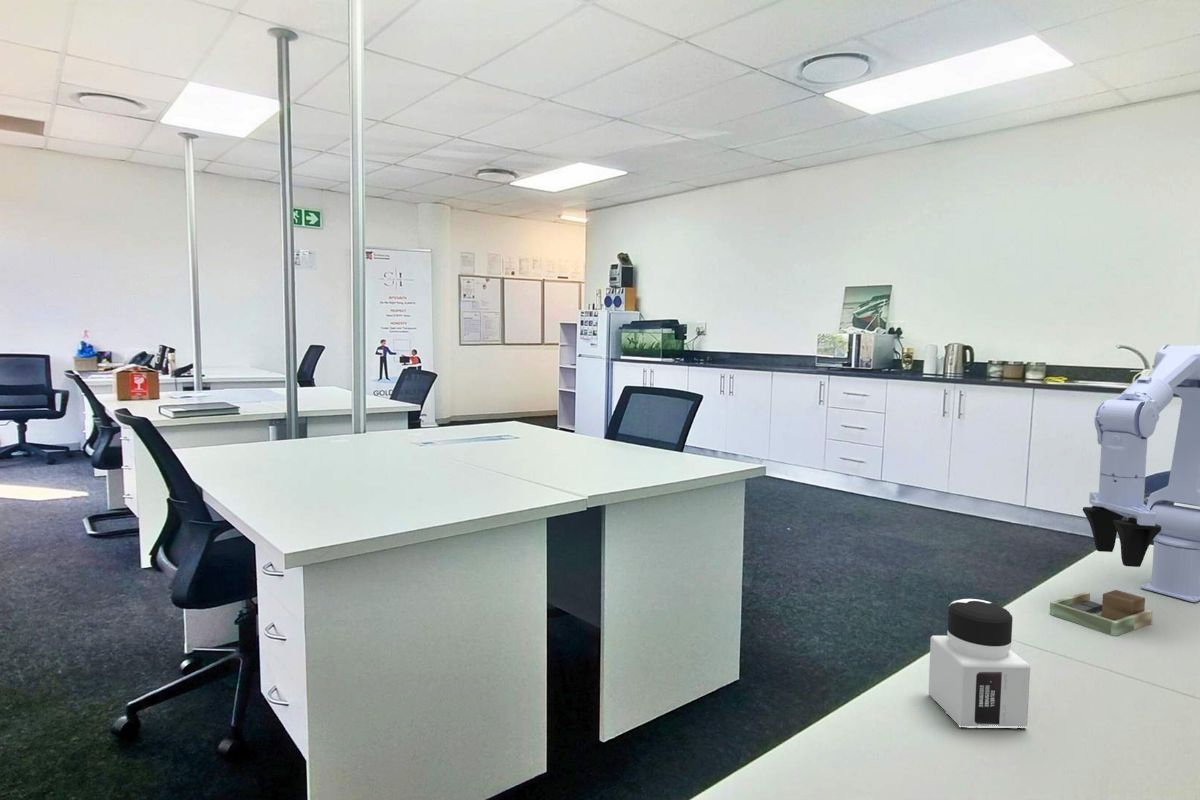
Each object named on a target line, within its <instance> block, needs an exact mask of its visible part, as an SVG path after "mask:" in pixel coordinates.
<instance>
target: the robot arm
mask: <svg viewBox="0 0 1200 800" xmlns="http://www.w3.org/2000/svg"><path fill="white" fill-rule="evenodd" d="M1153 367H1154V368H1153V370H1152V371H1151V373H1150V375H1147V376H1144V375H1142V376H1141V375H1140V376H1138V378H1136V379H1135V380H1134V381H1133V382H1132V383H1130V385H1129V386H1128V387H1127V388H1125V389H1124V391H1122V392H1121V394H1119V395H1118V396H1117V397H1116V398H1115V399H1113V398H1111V399H1110V398H1109V399H1107V400H1105V401H1103V402H1101V403H1099V404H1098V406H1097V409H1096V411H1095V415H1094V421H1093V422H1094V426H1095V429H1096V433H1097V434H1096V435H1097V436H1096V437H1097V439H1096V440H1097V445H1101V446H1100V463H1099V464H1100V465H1099V481H1098V492H1092V491H1090V492H1089V498H1088V499H1089V500H1088V501H1089V504H1090V505H1091V506H1083V507H1082V512H1083V513H1084V515H1085V517H1086V519H1087V520H1088V523H1089V526H1090V530H1091V532H1092V535H1093V536H1092V538H1093V541H1094V546H1095V549H1096V551H1097V552H1103V553H1104V552H1105V553H1106V552H1107V553H1113V551H1114V549H1115V545H1116V539H1117V535H1118V537H1119V544H1120V557H1121V561H1122V566H1125V567H1131V568H1132V567H1134V568H1137V567H1138V568H1140V567H1141V565H1142V563H1143V561H1144V559H1145V557H1146V556H1145V555H1146V553H1147V551H1148V549H1149V546H1150V545H1151V544H1152V542H1153V550H1152V566H1151V567H1152V568H1151V581H1150V582H1147V583H1144V584H1140V586H1139V587H1140V588H1141V589H1144V590H1147V591H1150V592H1155V593H1157V594H1161V595H1165V596H1169V597H1171V598H1176V599H1181V600H1184V601H1188V602H1192V603H1196V602H1197V603H1198V602H1199V601H1200V344H1197V345H1196V344H1195V345H1194V344H1189V345H1186V344H1183V345H1182V344H1181V345H1179V344H1178V345H1177V344H1174V345H1171V344H1167V343H1166V344H1163V345H1161V346H1160V347H1159V348H1158V349H1157V351H1156V353H1155V355H1154V359H1153ZM1174 394H1175V395H1177V396H1179V398H1180V400H1181V407H1180V410H1179V411H1180V412H1179V419H1178V424H1177V430H1176V436H1175V441H1174V448H1173V453H1172V454H1173V455H1172V460H1171V467H1170V473H1169V478H1168V484H1167V486H1165V487H1162V488H1160V489H1158V490H1156V491H1154V492H1151V493H1150V494H1149V497H1148V500H1147V503H1146V504H1145V488H1146V470H1147V469H1146V467H1147V450H1148V438H1150V437H1151V436H1153V434H1154V432H1155V430H1156V426H1157V424H1158V422H1159V419H1160V413H1161V412H1162V411H1163V410H1164V409H1165V408H1166V407H1167V406H1168V405H1169V404H1170V403H1171V402H1172V401H1173V398H1174ZM1171 503H1172V504H1171ZM1173 503H1174V504H1173ZM1175 504H1176V505H1175ZM1177 504H1180V505H1177ZM1182 504H1183V505H1188V506H1193V507H1188V506H1182ZM1195 507H1199V508H1195ZM1124 517H1125V518H1126V519H1128V520H1124V519H1123V518H1124Z"/></svg>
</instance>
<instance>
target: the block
mask: <svg viewBox="0 0 1200 800" xmlns="http://www.w3.org/2000/svg"><path fill="white" fill-rule="evenodd" d="M1101 601H1102V602H1101V604H1102V610H1101V617H1104V618H1107V619H1110V620H1113V621H1116V620H1119V619H1122V618H1125V617H1128V616H1131V615H1134V614H1137V613H1140V612H1143V611H1145V608H1146V607H1145V606H1146V598H1145V597H1144V596H1140V595H1136V594H1132V593H1130V592H1126V591H1121V590H1118V589H1114V590H1111V591H1108V592H1103V593H1102V600H1101Z"/></svg>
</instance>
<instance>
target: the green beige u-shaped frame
mask: <svg viewBox="0 0 1200 800" xmlns="http://www.w3.org/2000/svg"><path fill="white" fill-rule="evenodd" d="M1088 601H1091V593H1090V592H1087V591H1085V592H1082V593H1079V594H1075V595H1070V596H1067V597H1064V598H1060V599H1056V600H1053V601H1050V602H1049V603H1050V604H1049V615H1051V616H1054V617H1057V618H1060V619H1062V620H1065V621H1068V622H1072V623H1075V624H1078V625H1080V626H1083V627H1086V628H1089V629H1092V630H1095V631H1097V632H1102V633H1104V634H1107V635H1110V636H1113V637H1117V636H1119V635H1123V634H1125V633H1129V632H1131V631H1134V630H1137V629H1140V628H1144V627H1146V626H1149V625H1152V623H1153V621H1152V620H1153V619H1152V618H1153V610H1149V609H1147V610H1144V611H1143V612H1140V613H1137V614H1134V615H1131V616H1128V617H1125V618H1122V619H1119V620H1116V621H1113V620H1110V619H1107V618H1104V617H1102V616H1100V615H1097V614H1093V613H1088V612H1085V611H1082V610H1078V609H1075V608H1072V607H1071V606H1074V605H1077V604H1081V603H1084V602H1088Z"/></svg>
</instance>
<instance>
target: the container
mask: <svg viewBox="0 0 1200 800" xmlns="http://www.w3.org/2000/svg"><path fill="white" fill-rule="evenodd" d="M947 614H948V615H947V635H932V636H930V645H929V646H930V647H929V669H928V670H929V673H928V696H930V698H932V700H933V701H936V702H937V703H938V704H939V705H940V706H941V707H942V708H943V709H944V710H945V711H946V712H945V711H944V710H943V709H942V708H941V707H940V706H939V705H938V704H937V703H936V702H935V703H936V704H937V705H938V706H939V707H940V708H941V709H942V710H943V711H944V712H945V713H946V715H947V714H948V715H949V716H950V717H951V718H952V719H953V720H954V721H955V722H956V723H957V724H958V725H960V726H979V725H980V726H989V725H990V726H991V725H992V726H993V725H994V726H995V725H996V726H997V725H998V726H1018V727H1019V726H1020V727H1021V726H1022V727H1023V726H1024V727H1025V726H1027V727H1028V721H1029V720H1028V719H1029V717H1028V716H1029V700H1030V681H1031V680H1030V677H1031V665H1030V664H1029V662H1027V661H1026V660H1024V658H1022V657H1020V656H1019V655H1017V653H1015V652H1014V651H1013V650H1011V649H1012V639H1013V638H1012V637H1013V619H1014V617H1013V615H1012V614H1011V613H1010V611H1009V610H1008V609H1006V608H1005V607H1003V606H1001V605H999V604H997V603H995V602H994V603H993V602H990V601H987V600H984V599H975V598H962V599H957V600H953V601H952V602H951V603H949V605H948V611H947ZM948 715H947V716H948ZM949 716H948V717H949ZM950 717H949V718H950ZM951 718H950V719H951ZM952 719H951V720H952ZM953 720H952V721H953ZM954 721H953V722H954ZM955 722H954V723H955ZM956 723H955V724H956ZM957 724H956V725H957ZM958 725H957V726H958Z"/></svg>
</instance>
